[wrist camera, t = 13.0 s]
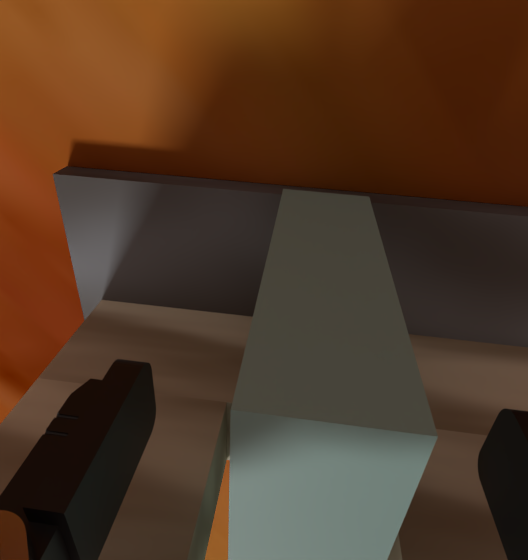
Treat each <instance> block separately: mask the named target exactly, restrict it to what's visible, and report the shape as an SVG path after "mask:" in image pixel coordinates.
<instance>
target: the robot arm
mask: <svg viewBox="0 0 528 560" xmlns="http://www.w3.org/2000/svg"><path fill="white" fill-rule="evenodd" d="M155 417H156V401H155V393H154V384H153V376H152V368H151V365H150V363H147V362H139V361H131V360H123V359H117V360H115V361H114V362H113V364H112V365H111V367H110V368H109V370H108V371H107V373H106V375H105V376H104V378H103V379H102V380H99V379H89V380H88V381H87V382H85V383H84V384H83V385H82V386H80V387H79V388H78V389H76V390H75V391H74V392H72V393H71V394H70V396H69V397H68V398H67V400H66V401H65V403H64V404H63V406H62V407H61V408H60V410H59V411H58V413H57V417H56V418H55V417H54V419H53V420H52V421H51V423H50V424H49V426H48V427H47V429H46V432H45V434H42V436H41V437H40V439H39V440H38V442H37V443H36V445H35V446H34V447H33V449H32V450H31V452H30V453H29V455H28V456H27V458H26V459H25V460H24V462H23V463H22V465H21V466H20V468H19V469H18V470H17V472H16V473H15V475H14V476H13V478H12V479H11V481H10V482H9V483H8V485H7V486H6V488H5V489H4V491H3V492H2V494H1V495H0V560H98V558H99V556H100V553H101V551H102V549H103V546H104V544H105V542H106V539H107V537H108V535H109V532H110V530H111V527H112V525H113V523H114V520H115V518H116V516H117V513H118V511H119V509H120V506H121V504H122V502H123V499H124V497H125V495H126V492H127V490H128V487H129V485H130V483H131V480H132V478H133V476H134V473H135V471H136V469H137V466H138V464H139V462H140V459H141V457H142V454H143V452H144V450H145V447H146V445H147V443H148V440H149V438H150V436H151V433H152V430H153V427H154V423H155ZM478 474H479V479H480V482H481V485H482V488H483V491H484V494H485V496H486V499H487V502H488V505H489V508H490V511H491V513H492V516H493V519H494V522H495V525H496V528H497V531H498V533H499V536H500V539H501V542H502V545H503V548H504V551H505V553H506V556H507V559H508V560H528V411H521V410H513V409H502V410H501V411H500V412H499V414H498V416H497V418H496V420H495V422H494V424H493V426H492V428H491V430H490V432H489V434H488V436H487V438H486V440H485V442H484V444H483V446H482V448H481V450H480V452H479V456H478Z"/></svg>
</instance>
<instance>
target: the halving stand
mask: <svg viewBox="0 0 528 560" xmlns="http://www.w3.org/2000/svg"><path fill="white" fill-rule="evenodd" d="M53 177H54V181H55V186H56V191H57V195H58V200H59V204H60V209H61V214H62V218H63V223H64V227H65V232H66V237H67V241H68V246H69V250H70V255H71V260H72V264H73V269H74V274H75V278H76V283H77V287H78V292H79V297H80V301H81V306H82V310H83V315H84V320H85V321H84V322H83V323H82V325H81V326H80V327H79V328H78V329H77V331H76V332H75V333H74V334H73V336H72V337H71V338H70V339H69V341H68V342H67V343H66V344H65V345H64V347H63V348H62V349H61V350H60V352H59V353H58V354H57V355H56V357H55V358H54V359H53V360H52V362H51V363H50V364H49V365H48V366H47V368H46V369H45V370H44V371H43V373H42V374H41V375H40V376H39V378H38V379H37V380H36V381H35V382H34V384H33V385H32V386H31V387H30V389H29V390H28V391H27V392H26V394H25V395H24V396H23V397H22V398H21V400H20V401H19V402H18V403H17V405H16V406H15V407H14V408H13V410H12V411H11V412H10V413H9V414H8V416H7V417H6V418H5V419H4V421H3V422H2V423H1V424H0V495H1V494H2V492H3V491H4V489H5V488H6V486H7V485H8V483H9V482H10V481H11V479H12V478H13V476H14V475H15V473H16V472H17V470H18V469H19V468H20V466H21V465H22V463H23V462H24V460H25V459H26V458H27V456H28V455H29V453H30V452H31V450H32V449H33V447H34V446H35V445H36V443H37V442H38V440H39V439H40V437H41V436H42V434H45V432H46V429H47V427H48V426H49V424H50V423H51V421H52V420H53V419H54V417H55V418H56V417H57V413H58V411H59V410H60V408H61V407H62V406H63V404H64V403H65V401H66V400H67V398H68V397H69V396H70V394H71V393H72V392H74V391H75V390H76V389H78V388H79V387H80V386H82V385H83V384H84V383H85V382H87V381H88V380H89V379H99V380H102V379H103V378H104V376H105V375H106V373H107V371H108V370H109V368H110V367H111V365H112V364H113V362H114V361H115V360H117V359H123V360H131V361H139V362H147V363H150V365H151V368H152V376H153V384H154V393H155V401H156V417H155V423H154V427H153V430H152V433H151V436H150V438H149V440H148V443H147V445H146V447H145V450H144V452H143V454H142V457H141V459H140V462H139V464H138V466H137V469H136V471H135V473H134V476H133V478H132V480H131V483H130V485H129V487H128V490H127V492H126V495H125V497H124V499H123V502H122V504H121V506H120V509H119V511H118V513H117V516H116V518H115V520H114V523H113V525H112V527H111V530H110V532H109V535H108V537H107V539H106V542H105V544H104V546H103V549H102V551H101V553H100V556H99V558H98V560H204V559H205V555H206V550H207V546H208V541H209V537H210V532H211V528H212V523H213V519H214V514H215V509H216V505H217V500H218V496H219V491H220V487H221V482H222V478H223V473H224V469H225V464H226V460H230V419H231V406H232V402H233V398H234V394H235V389H236V385H237V381H238V377H239V373H240V368H241V364H242V360H243V356H244V352H245V347H246V343H247V339H248V335H249V331H250V326H251V322H252V318H253V314H254V310H255V305H256V301H257V297H258V293H259V289H260V284H261V280H262V276H263V272H264V268H265V263H266V259H267V255H268V251H269V247H270V242H271V238H272V234H273V230H274V226H275V221H276V217H277V213H278V209H279V205H280V200H281V196H282V192H283V189H290V190H301V191H313V192H324V193H335V194H346V195H357V196H368V197H369V198H370V201H371V205H372V208H373V212H374V215H375V219H376V222H377V226H378V229H379V233H380V236H381V240H382V243H383V247H384V250H385V254H386V257H387V261H388V264H389V267H390V271H391V274H392V278H393V281H394V285H395V288H396V292H397V295H398V299H399V302H400V306H401V309H402V313H403V316H404V320H405V323H406V327H407V330H408V334H409V337H410V341H411V344H412V348H413V351H414V355H415V358H416V362H417V365H418V369H419V372H420V376H421V379H422V383H423V386H424V390H425V393H426V397H427V400H428V404H429V407H430V411H431V414H432V418H433V421H434V425H435V428H436V432H437V435H438V438H437V440H436V443H435V445H434V448H433V450H432V452H431V455H430V457H429V460H428V462H427V464H426V467H425V469H424V472H423V474H422V477H421V479H420V481H419V484H418V486H417V489H416V491H415V493H414V496H413V498H412V501H411V503H410V506H409V508H408V510H407V513H406V515H405V518H404V520H403V523H402V525H401V527H400V530H399V532H398V535H397V537H396V539H395V542H394V544H393V547H392V549H391V552H390V554H389V556H388V559H387V560H508V559H507V556H506V553H505V551H504V548H503V545H502V542H501V539H500V536H499V533H498V531H497V528H496V525H495V522H494V519H493V516H492V513H491V511H490V508H489V505H488V502H487V499H486V496H485V494H484V491H483V488H482V485H481V482H480V479H479V474H478V456H479V452H480V450H481V448H482V446H483V444H484V442H485V440H486V438H487V436H488V434H489V432H490V430H491V428H492V426H493V424H494V422H495V420H496V418H497V416H498V414H499V412H500V411H501V410H502V409H513V410H521V411H528V207H523V206H512V205H500V204H489V203H478V202H466V201H455V200H443V199H432V198H421V197H409V196H398V195H387V194H375V193H364V192H352V191H341V190H330V189H318V188H307V187H296V186H284V185H273V184H262V183H250V182H239V181H227V180H216V179H205V178H193V177H182V176H171V175H159V174H148V173H136V172H125V171H114V170H102V169H91V168H80V167H68V166H67V167H65V168H63V169H61V170H59V171H57V172H56V173H54V174H53Z"/></svg>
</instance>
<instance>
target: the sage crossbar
mask: <svg viewBox="0 0 528 560" xmlns="http://www.w3.org/2000/svg"><path fill="white" fill-rule="evenodd" d="M437 438H438V435H437V432H436V428H435V425H434V421H433V418H432V414H431V411H430V407H429V404H428V400H427V397H426V393H425V390H424V386H423V383H422V379H421V376H420V372H419V369H418V365H417V362H416V358H415V355H414V351H413V348H412V344H411V341H410V337H409V334H408V330H407V327H406V323H405V320H404V316H403V313H402V309H401V306H400V302H399V299H398V295H397V292H396V288H395V285H394V281H393V278H392V274H391V271H390V267H389V264H388V261H387V257H386V254H385V250H384V247H383V243H382V240H381V236H380V233H379V229H378V226H377V222H376V219H375V215H374V212H373V208H372V205H371V201H370V198H369V197H368V196H357V195H346V194H335V193H324V192H313V191H301V190H290V189H283V192H282V196H281V200H280V205H279V209H278V213H277V217H276V221H275V226H274V230H273V234H272V238H271V242H270V247H269V251H268V255H267V259H266V263H265V268H264V272H263V276H262V280H261V284H260V289H259V293H258V297H257V301H256V305H255V310H254V314H253V318H252V322H251V326H250V331H249V335H248V339H247V343H246V347H245V352H244V356H243V360H242V364H241V368H240V373H239V377H238V381H237V385H236V389H235V394H234V398H233V402H232V406H231V419H230V482H229V545H228V560H387V559H388V556H389V554H390V552H391V549H392V547H393V544H394V542H395V539H396V537H397V535H398V532H399V530H400V527H401V525H402V523H403V520H404V518H405V515H406V513H407V510H408V508H409V506H410V503H411V501H412V498H413V496H414V493H415V491H416V489H417V486H418V484H419V481H420V479H421V477H422V474H423V472H424V469H425V467H426V464H427V462H428V460H429V457H430V455H431V452H432V450H433V448H434V445H435V443H436V440H437Z"/></svg>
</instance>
